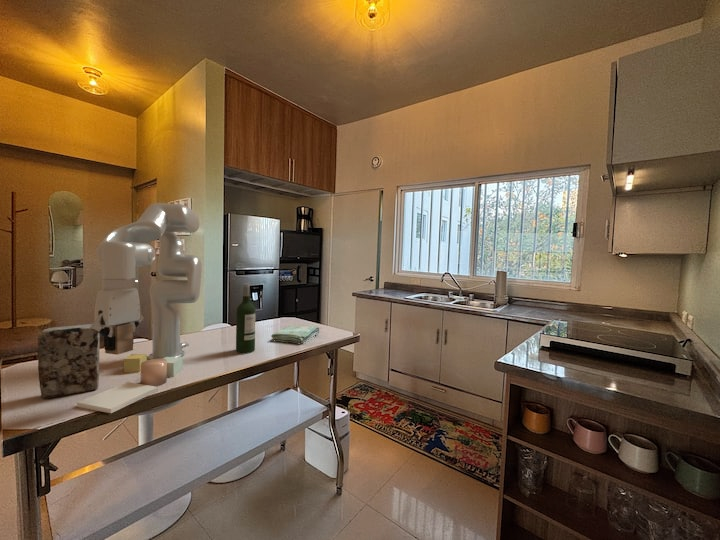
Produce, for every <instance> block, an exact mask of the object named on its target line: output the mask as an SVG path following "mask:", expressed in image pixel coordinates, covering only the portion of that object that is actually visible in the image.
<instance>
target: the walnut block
mask: <svg viewBox="0 0 720 540" xmlns="http://www.w3.org/2000/svg"><path fill="white" fill-rule="evenodd" d="M108 331H109V329H108ZM113 336H115V350H114V351H109V350H105V349H104V353H105V354H111V355H117V356H119V355H121V354H125V353H128V352H131V351H134V340H133V323H125V324H121V325H116V326H115V330H114V334H113Z"/></svg>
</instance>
